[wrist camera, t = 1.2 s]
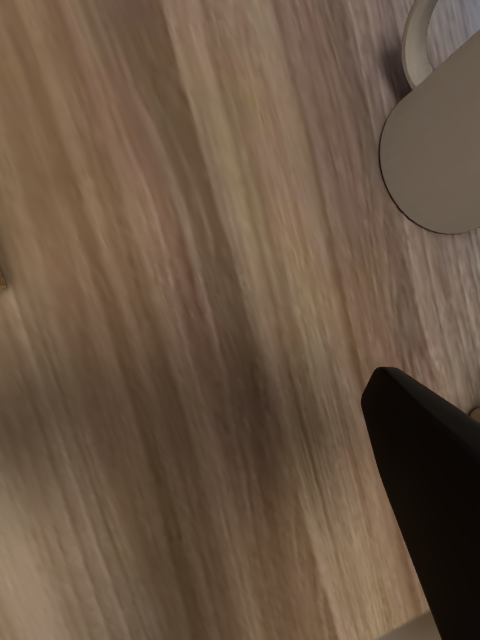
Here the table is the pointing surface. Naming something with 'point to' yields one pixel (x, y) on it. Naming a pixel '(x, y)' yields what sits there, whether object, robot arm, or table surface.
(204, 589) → the table surface
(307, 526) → the table surface
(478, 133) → the mug
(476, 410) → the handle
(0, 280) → the stand
